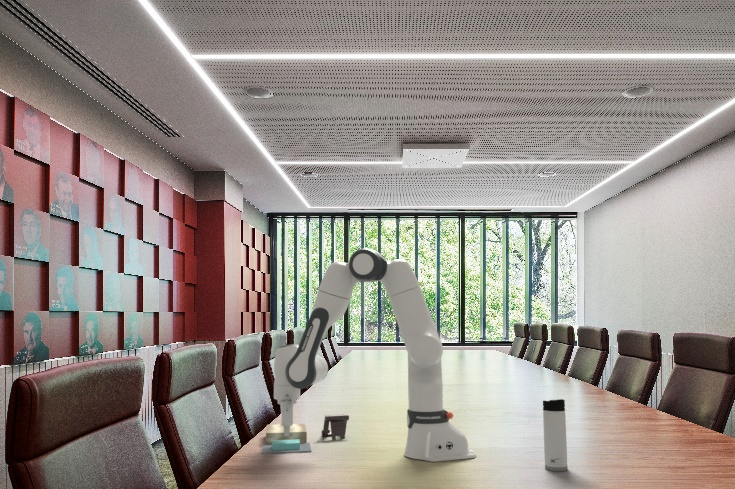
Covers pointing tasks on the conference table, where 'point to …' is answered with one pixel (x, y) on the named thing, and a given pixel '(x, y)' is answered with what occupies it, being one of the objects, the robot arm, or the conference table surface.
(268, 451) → the mat
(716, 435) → the conference table surface
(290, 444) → the turquoise rectangular block
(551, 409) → the travel mug
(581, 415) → the conference table surface
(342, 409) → the conference table surface
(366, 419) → the conference table surface
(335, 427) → the portable electronic device stand
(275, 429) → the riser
